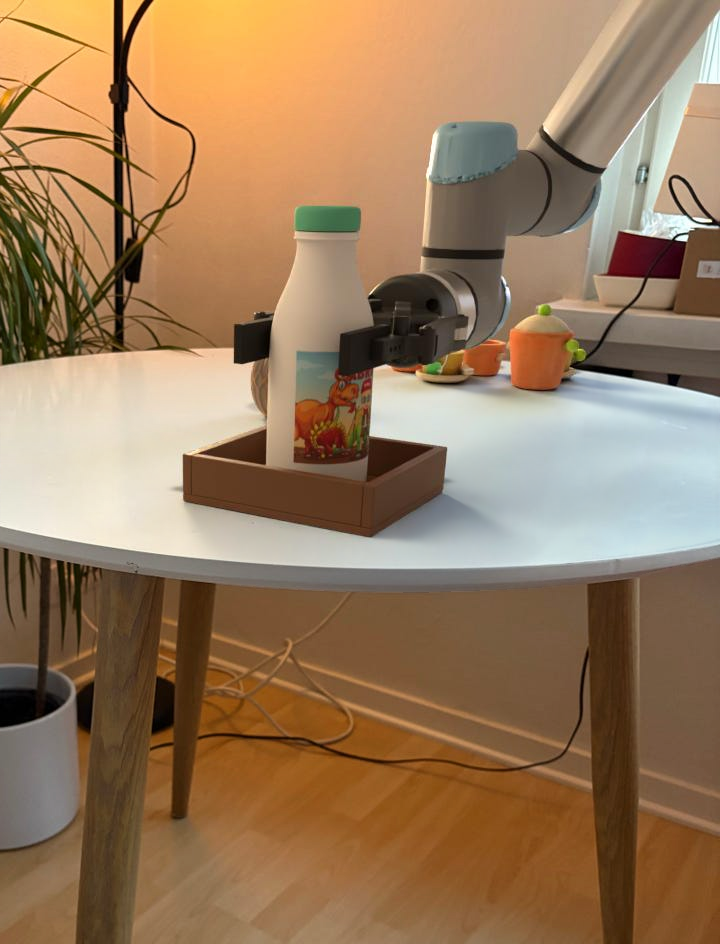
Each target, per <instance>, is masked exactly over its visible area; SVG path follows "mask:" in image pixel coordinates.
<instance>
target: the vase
mask: <svg viewBox="0 0 720 944" xmlns="http://www.w3.org/2000/svg"><path fill="white" fill-rule="evenodd" d="M268 373H269V358H267V359H262V360H258V361H254V362H253V364H252V368H251V372H250V391H251V392H250V393H251V397H252V399H253V402H254V405H255V406H256V408H257V409H258V411H259V412H260V413H261V414H262V415H263V416H264V417H266V418H267V405H268Z"/></svg>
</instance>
